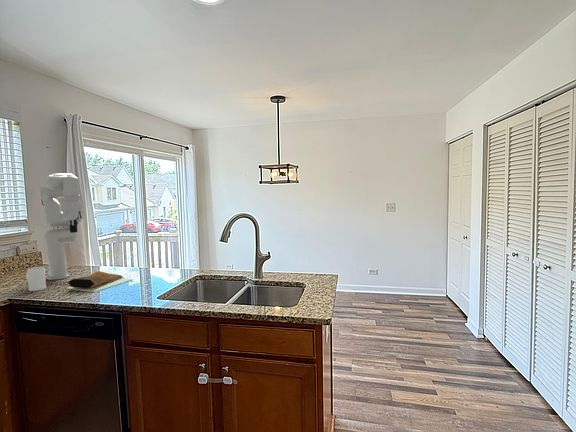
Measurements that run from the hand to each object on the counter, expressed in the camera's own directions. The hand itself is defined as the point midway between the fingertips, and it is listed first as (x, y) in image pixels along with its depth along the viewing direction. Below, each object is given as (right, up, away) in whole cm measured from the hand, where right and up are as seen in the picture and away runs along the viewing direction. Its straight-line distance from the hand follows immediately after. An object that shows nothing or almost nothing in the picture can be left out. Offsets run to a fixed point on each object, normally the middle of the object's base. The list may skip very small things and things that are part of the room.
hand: (73, 232), depth 190 cm
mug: (-28, -33, +9) cm, 44 cm away
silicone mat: (+6, -32, +16) cm, 36 cm away
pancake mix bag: (+2, -28, +3) cm, 29 cm away
